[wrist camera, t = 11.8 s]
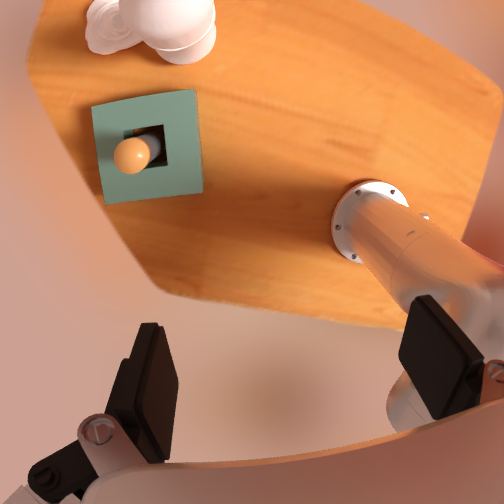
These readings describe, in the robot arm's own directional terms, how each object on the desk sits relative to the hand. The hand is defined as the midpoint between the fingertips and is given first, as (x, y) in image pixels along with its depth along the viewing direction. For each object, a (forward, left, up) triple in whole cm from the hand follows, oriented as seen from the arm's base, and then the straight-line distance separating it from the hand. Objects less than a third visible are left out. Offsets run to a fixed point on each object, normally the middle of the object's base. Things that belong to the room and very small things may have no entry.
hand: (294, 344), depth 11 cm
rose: (+14, -22, -33) cm, 42 cm away
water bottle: (+5, -18, -32) cm, 37 cm away
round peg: (+11, -5, -32) cm, 34 cm away
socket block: (+11, -5, -32) cm, 34 cm away
